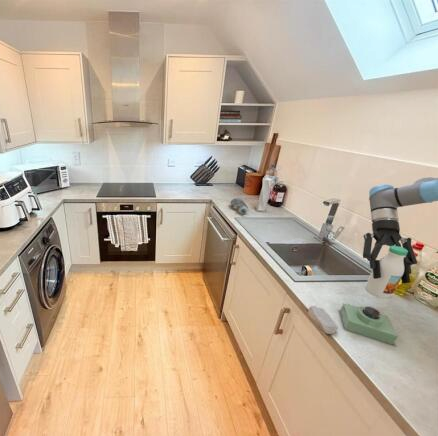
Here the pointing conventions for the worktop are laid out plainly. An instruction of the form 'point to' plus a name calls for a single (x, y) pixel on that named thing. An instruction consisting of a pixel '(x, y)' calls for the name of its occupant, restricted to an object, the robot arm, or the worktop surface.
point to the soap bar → (322, 320)
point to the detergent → (239, 205)
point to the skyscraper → (264, 195)
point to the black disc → (371, 312)
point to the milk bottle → (388, 273)
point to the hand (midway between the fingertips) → (391, 280)
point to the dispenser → (368, 324)
